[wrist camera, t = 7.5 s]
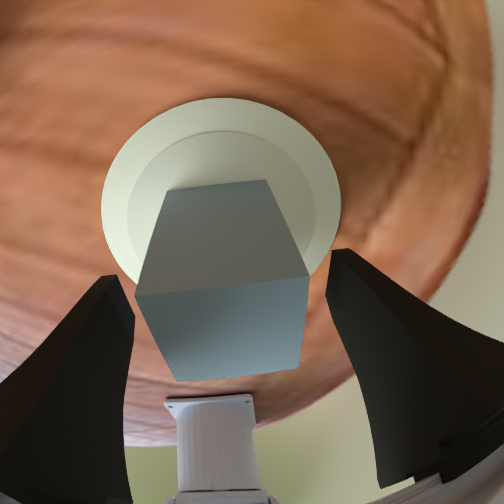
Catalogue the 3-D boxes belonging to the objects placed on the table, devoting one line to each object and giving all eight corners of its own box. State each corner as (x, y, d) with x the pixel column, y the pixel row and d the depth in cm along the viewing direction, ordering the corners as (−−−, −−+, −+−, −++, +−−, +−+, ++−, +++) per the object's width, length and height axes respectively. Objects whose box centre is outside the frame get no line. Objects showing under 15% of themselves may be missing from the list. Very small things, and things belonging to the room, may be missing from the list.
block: (268, 258, 13) (298, 368, 9) (184, 268, 13) (176, 381, 8) (266, 179, 11) (309, 275, 6) (166, 191, 11) (134, 295, 6)
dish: (322, 288, 17) (328, 301, 16) (142, 308, 16) (139, 323, 15) (338, 94, 10) (350, 97, 9) (85, 123, 10) (73, 128, 9)
